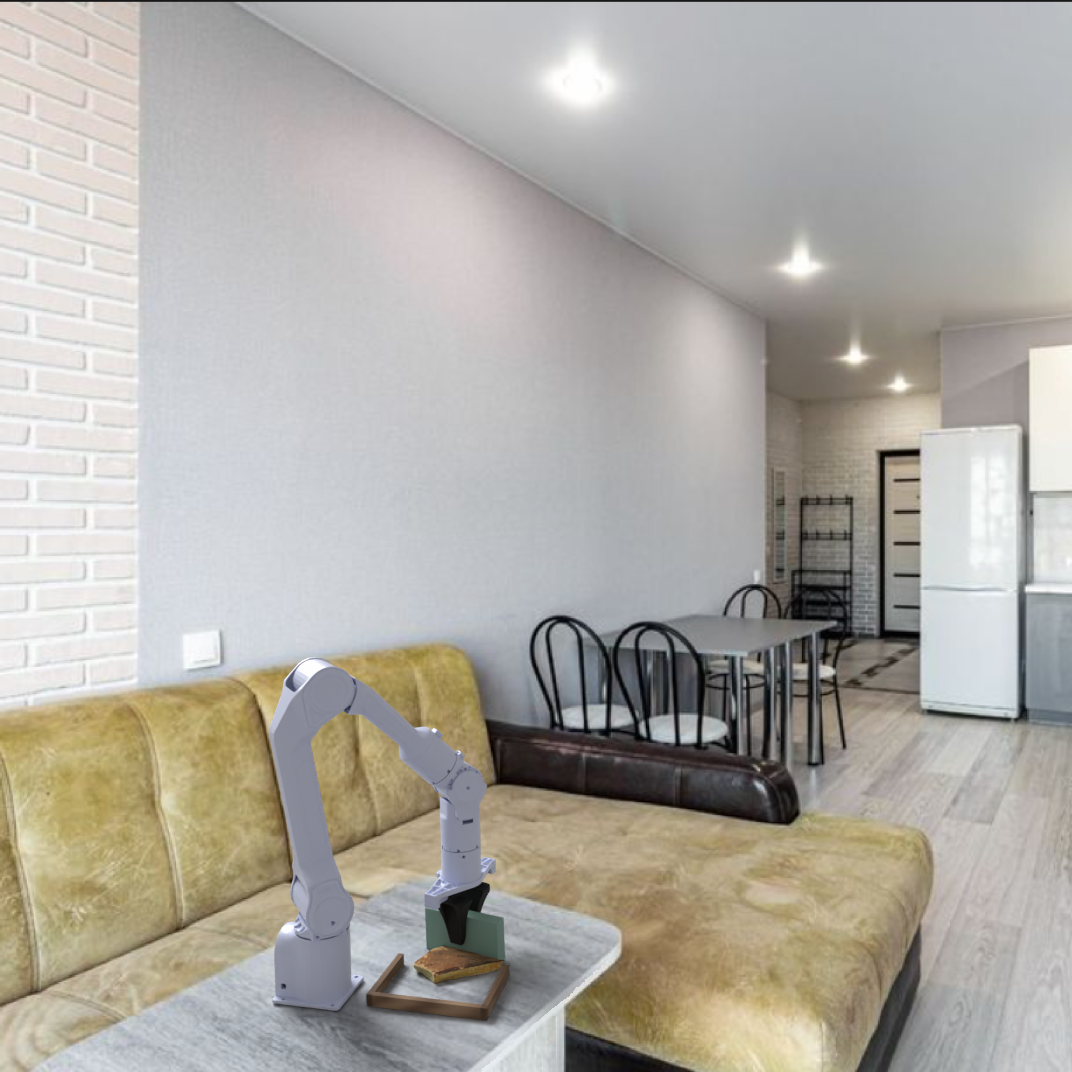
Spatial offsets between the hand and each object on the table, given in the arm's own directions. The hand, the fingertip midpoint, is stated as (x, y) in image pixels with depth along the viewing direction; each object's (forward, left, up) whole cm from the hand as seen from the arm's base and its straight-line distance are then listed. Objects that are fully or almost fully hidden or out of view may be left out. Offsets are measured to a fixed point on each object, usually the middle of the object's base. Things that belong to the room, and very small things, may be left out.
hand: (462, 938), depth 127 cm
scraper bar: (0, 0, -2) cm, 2 cm away
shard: (0, -3, -3) cm, 4 cm away
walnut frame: (0, -9, -2) cm, 10 cm away
